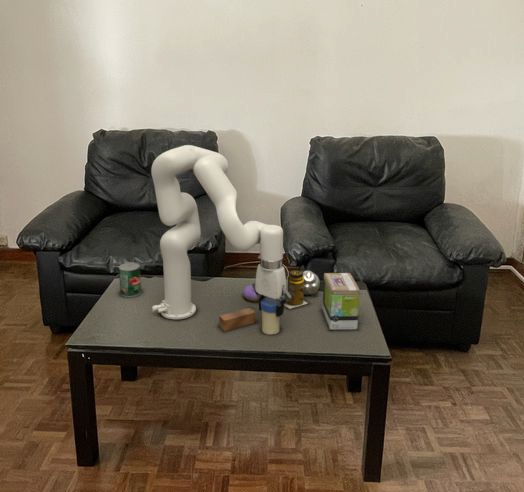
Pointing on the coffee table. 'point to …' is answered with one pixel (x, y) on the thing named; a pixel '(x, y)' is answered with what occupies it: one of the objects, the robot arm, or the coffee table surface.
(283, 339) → the coffee table surface
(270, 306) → the lid
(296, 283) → the condiment
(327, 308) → the tea box
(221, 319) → the block
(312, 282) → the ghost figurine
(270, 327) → the jar
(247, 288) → the donut
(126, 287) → the canned tomato
